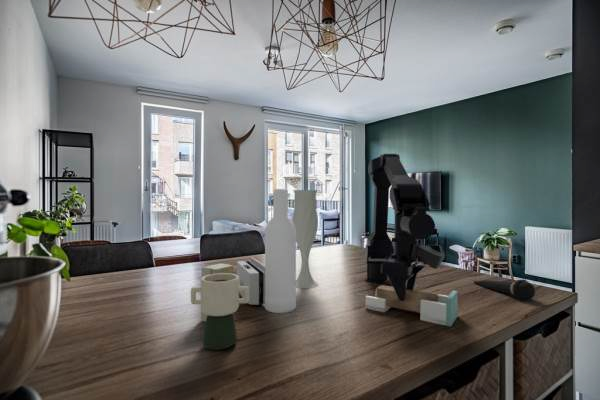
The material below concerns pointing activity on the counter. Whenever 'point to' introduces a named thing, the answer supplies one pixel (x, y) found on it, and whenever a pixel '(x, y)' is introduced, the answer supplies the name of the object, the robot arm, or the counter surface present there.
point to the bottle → (280, 257)
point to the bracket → (252, 280)
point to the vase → (305, 232)
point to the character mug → (219, 308)
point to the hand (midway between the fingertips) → (405, 297)
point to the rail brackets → (426, 308)
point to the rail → (410, 301)
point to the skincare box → (215, 270)
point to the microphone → (511, 288)
